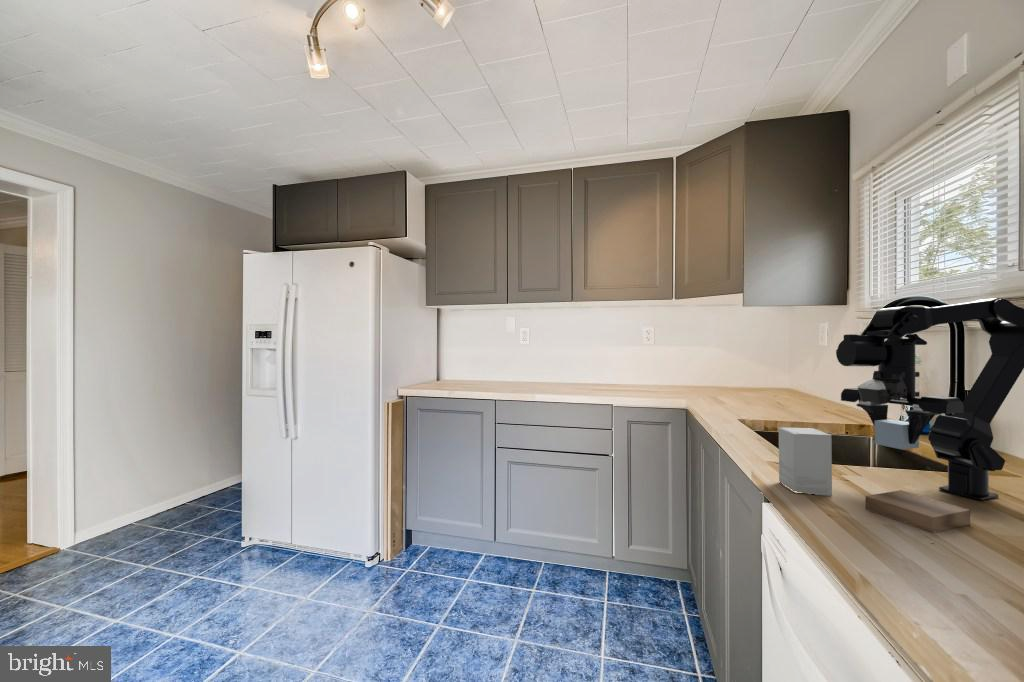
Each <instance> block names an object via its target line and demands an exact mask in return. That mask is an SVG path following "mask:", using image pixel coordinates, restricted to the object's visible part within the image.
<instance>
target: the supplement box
mask: <svg viewBox="0 0 1024 682" xmlns="http://www.w3.org/2000/svg"><path fill="white" fill-rule="evenodd" d="M832 445H833V444H832V434H829V433H826V432H824V431H821V430H819V429H816V428H814V427H813V428H809V427H806V428H805V427H778V482H779V481H780V482H782V483H783V484H784V485H786V486H787V487H789V488H790V489H792V490H793V491H797V492H802V493H808V494H807V495H811V494H815V495H814V496H829V497H831V496H832V495H833V472H832V471H833V460H832V459H833V458H832V457H833V455H832V451H833V450H832V449H833V448H832ZM784 485H783V486H784Z"/></svg>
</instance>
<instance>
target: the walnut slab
mask: <svg viewBox="0 0 1024 682" xmlns="http://www.w3.org/2000/svg"><path fill="white" fill-rule="evenodd" d="M864 497H865V500H864V502H865V510H866V511H870V512H872V513H876V514H877V515H881V516H884V517H887V518H890V519H893V520H896V521H899V522H902V523H904V524H907V525H910V526H912V527H916V528H919V529H922V530H924V531H928V532H931V533H936V532H941V531H944V530H945V531H946V530H949V529H955V528H959V527H964V526H968V525H971V510H970V509H969V508H964V507H961V506H958V505H954V504H951V503H948V502H944V501H941V500H936V499H934V498H933V499H932V498H929V497H926V496H923V495H919V494H916V493H912V492H908V491H905V490H901V489H900V490H893V491H888V492H882V493H875V494H868V495H865V496H864Z"/></svg>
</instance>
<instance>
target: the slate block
mask: <svg viewBox="0 0 1024 682" xmlns="http://www.w3.org/2000/svg"><path fill="white" fill-rule="evenodd" d="M908 434H909V421H903V420H896V419H889V418H887V420H875V427H874V445H879V446H883V447H888V448H893V449H896V450H897V449H899V450H904V451H905V450H912V449H919V448H920V440H919V439H920V437H919V438H918V439H917V441H916V442H915V444H910V443H909V437H908Z"/></svg>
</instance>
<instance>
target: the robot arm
mask: <svg viewBox="0 0 1024 682" xmlns="http://www.w3.org/2000/svg"><path fill="white" fill-rule="evenodd" d="M974 320H977V321H978V323H979V325H980V328H981V330H982V331H983V332H985V333H986V334H988V335H990V337H989V340H988V344H989V348H990V352H991V355H990V357H989V358H988V359H987V362H986V363H985V365H984V366H983V368H982V370H981V372H979V373H980V374H979V375H978V377H977V379H976V380H975V381H974V383H973V385H972V386H971V389H969V391H968V393H967V395H966V396H965V398H963V401H962V400H961V399H960V398H959V397H951V396H942V395H928V396H927V395H925V396H921V397H920V391H916V378H920V371H916V346H926V345H928V342H927V341H926V340H925V339H923V338H922V337H920V336H919V335H918V334H917V333H920V332H922V331H926V330H928V329H931V328H932V327H934V326H935V327H936V326H938V325H944V324H953V323H960V322H968V321H974ZM835 354H836V355H835V356H836V358H837V359H836V360H837V361H838V362H839V364H840V365H841V366H843V367H877V368H878V369H877V370H874V371H873V373H872V379H870V380H867V381H865V382H863V383H862V384H860V385H858V386H857V387H855V388H853V387H850V388H844V389H843V390H842V391H841V393H840V401H842V402H850V403H856V407H858V408H861V409H862V410H864V411H865V412H866V413H867V415H868V417H869V418H870V420H871V423H872V425H873V427H874V428H875V420H887V419H888V413H889V411H888V410H889V405H888V404H895V405H901V406H910V407H912V410H905V413H906V415H907V417H908V422H909V434H908V437H909V443H910V444H915V442H916V441H917V439H918V438H919V439H920V436H921V434H922V433H923V432H924V430H925V428H926V427H927V425H928V424H929V423H930V422H931V420H933V418H934V417H935V416H937V417H936V418H935V420H934V423H933V425H932V426H931V427H929V428H928V429H927V430H928V431H929V434H928V441H929V443H930V445H931V447H932V448H933V452H934V454H935V456H936V459H939V460H944V461H947V485H944V486H938V490H939V491H943V492H947V493H951V494H955V495H958V496H963V497H966V498H970V499H972V500H973V499H974V500H978V501H983V500H989V499H993V498H994V499H995V498H998V497H999V494H998V493H995V492H991V491H990V472H996V471H1002V470H1003V468H1004V466H1005V463H1006V460H1005V459H1004V458H1003V456H1001V455H1000V454H999V453H998V452H997V451H996V450H995V449H993V447H992V443H993V441H994V435H993V431H992V427H991V422H993V419H994V418H995V416H996V414H997V413H998V411H999V409H1000V408H1001V406H1003V403H1004V401H1005V400H1006V398H1007V396H1008V395H1009V393H1010V391H1011V390H1012V389H1013V387H1014V385H1015V384H1016V382H1017V381H1018V379H1019V378H1020V375H1021V374H1022V372H1023V371H1024V307H1020V306H1018V305H1016V304H1014V303H1013V302H1011V301H1010V300H1009V299H1006V298H1001V297H995V298H986V299H985V298H984V299H977V300H974V301H968V302H962V303H956V304H955V303H954V304H948V305H947V304H946V305H940V306H931V307H929V306H918V305H917V306H914V305H911V306H910V305H909V306H908V305H906V306H896V307H887V308H886V307H885V308H880V309H878V310H876V311H875V313H874V315H873V317H872V320H871V321H870V322H869V324H868V325H867V326H866V327H865V329H864V330H863V331H862V333H860V334H843V340H842V341H841V342H839V344H838V346H837V349H836V350H835ZM857 402H858V403H857ZM946 414H947V415H946ZM950 414H951V415H950Z"/></svg>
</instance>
